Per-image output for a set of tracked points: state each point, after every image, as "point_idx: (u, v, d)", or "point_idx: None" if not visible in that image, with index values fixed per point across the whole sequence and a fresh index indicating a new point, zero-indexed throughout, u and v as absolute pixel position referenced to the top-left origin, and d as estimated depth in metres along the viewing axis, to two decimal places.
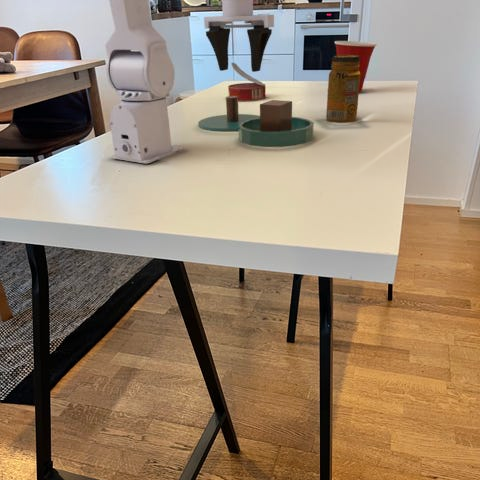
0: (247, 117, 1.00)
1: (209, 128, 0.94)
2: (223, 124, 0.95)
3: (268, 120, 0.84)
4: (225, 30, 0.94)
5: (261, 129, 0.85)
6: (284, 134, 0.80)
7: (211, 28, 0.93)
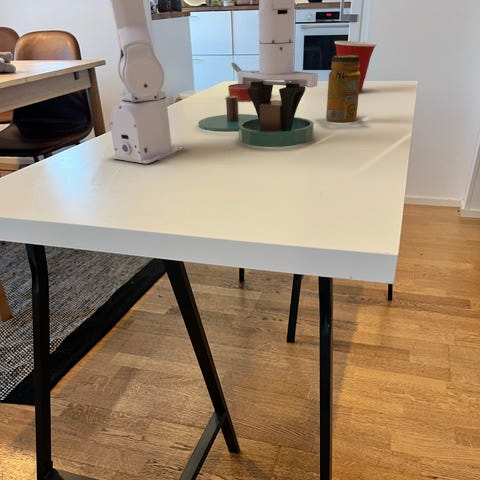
0: (247, 117, 1.00)
1: (209, 128, 0.94)
2: (223, 124, 0.95)
3: (268, 120, 0.84)
4: (268, 86, 0.84)
5: (261, 129, 0.85)
6: (284, 134, 0.80)
7: None
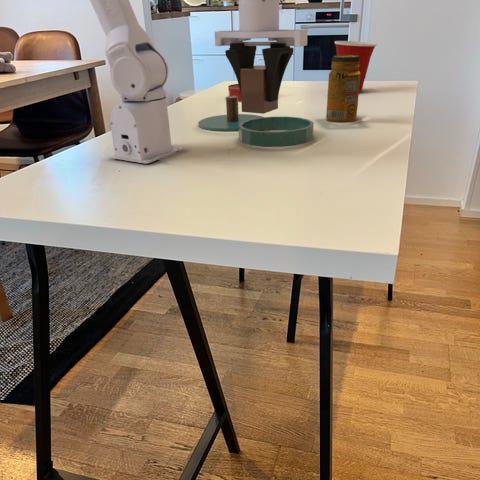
0: (247, 117, 1.00)
1: (209, 128, 0.94)
2: (223, 124, 0.95)
3: (250, 88, 0.72)
4: (250, 48, 0.72)
5: (242, 99, 0.73)
6: (284, 134, 0.80)
7: None
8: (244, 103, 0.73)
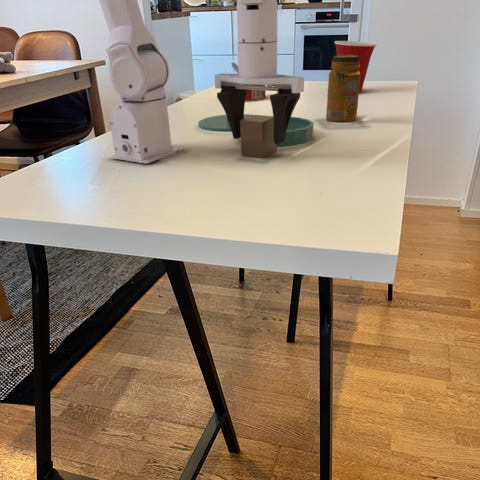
0: (247, 117, 1.00)
1: (209, 128, 0.94)
2: (223, 124, 0.95)
3: (250, 138, 0.75)
4: (241, 90, 0.75)
5: (242, 147, 0.76)
6: None
7: (223, 88, 0.75)
8: (244, 151, 0.76)
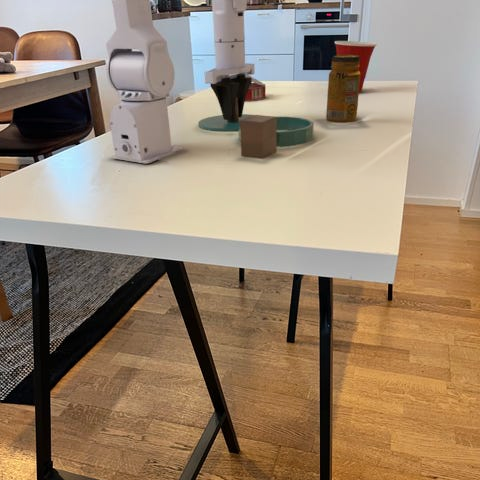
0: (247, 117, 1.00)
1: (209, 128, 0.94)
2: (223, 124, 0.95)
3: (250, 138, 0.75)
4: (239, 80, 0.94)
5: (242, 147, 0.76)
6: (284, 134, 0.80)
7: None
8: (244, 151, 0.77)
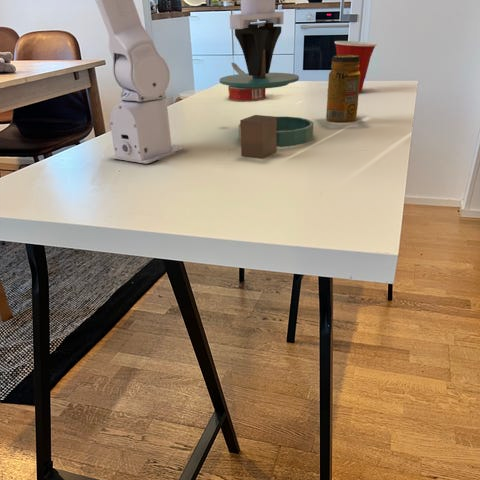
0: (274, 74, 0.88)
1: (233, 83, 0.81)
2: (249, 80, 0.83)
3: (250, 138, 0.75)
4: (267, 29, 0.82)
5: (242, 147, 0.76)
6: (284, 134, 0.80)
7: None
8: (244, 151, 0.77)
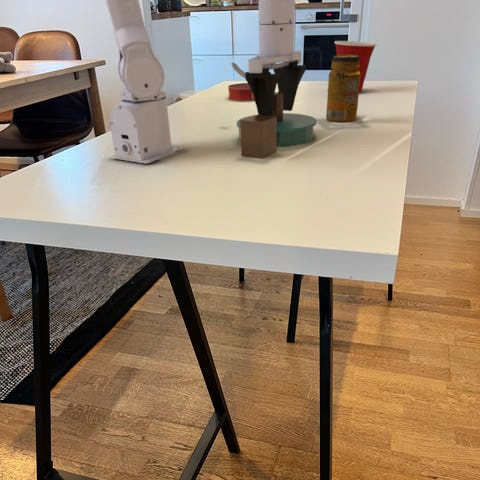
0: (291, 116, 0.88)
1: None
2: None
3: (250, 138, 0.75)
4: (292, 68, 0.83)
5: (242, 147, 0.76)
6: (284, 134, 0.80)
7: None
8: (244, 151, 0.77)
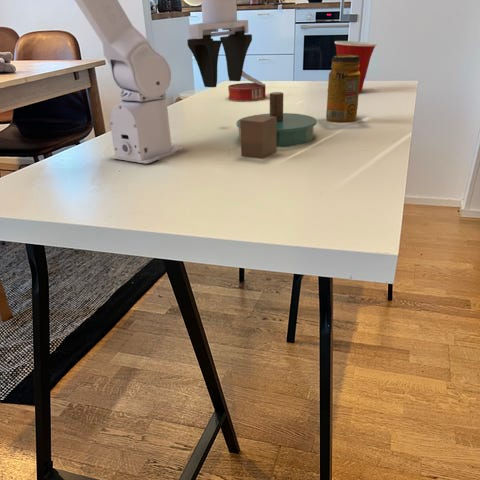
0: (291, 116, 0.88)
1: None
2: None
3: (250, 138, 0.75)
4: (238, 37, 0.82)
5: (242, 147, 0.76)
6: (284, 134, 0.80)
7: None
8: (244, 151, 0.77)
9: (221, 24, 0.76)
